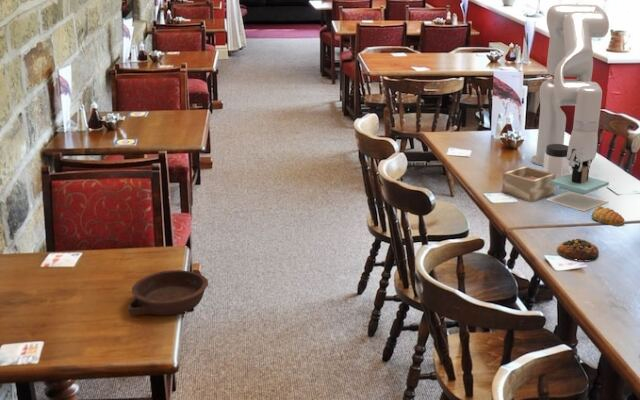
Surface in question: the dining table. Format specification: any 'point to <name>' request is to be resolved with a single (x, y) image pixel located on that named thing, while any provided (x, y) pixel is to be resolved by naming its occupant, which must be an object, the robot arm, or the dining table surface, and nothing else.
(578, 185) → the lid
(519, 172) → the box
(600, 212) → the pastry
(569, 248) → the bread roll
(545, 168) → the jar
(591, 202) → the mat
